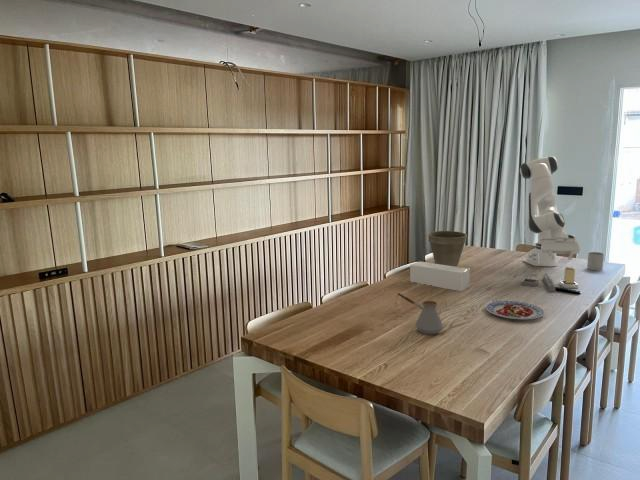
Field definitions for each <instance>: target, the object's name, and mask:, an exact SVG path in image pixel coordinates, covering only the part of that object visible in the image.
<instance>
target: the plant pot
mask: <svg viewBox="0 0 640 480" xmlns="http://www.w3.org/2000/svg"><path fill="white" fill-rule="evenodd" d="M467 236H468V235H467V233H465V232H461V231H456V230H436V231H432V232H429V233H428V242H429V243H430V247H431V252H432V257H433V260H434V261H433V262H434V264H440V265H447V266H454V267H459V263H460V260H461V257H462V253H463V250H464V247H465V244H466V243H467V238H468V237H467Z"/></svg>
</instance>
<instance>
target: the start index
mask: <svg viewBox="0 0 640 480" xmlns="http://www.w3.org/2000/svg"><path fill="white" fill-rule="evenodd" d="M559 285H560V286H561V287H562V288H563V287H564V288H563V289H579V284H578V283H577V282H576V281H575V280H574V284H564V280H559Z"/></svg>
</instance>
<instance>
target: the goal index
mask: <svg viewBox="0 0 640 480" xmlns="http://www.w3.org/2000/svg"><path fill="white" fill-rule="evenodd" d="M520 284H521V286H530V287H537V285H538V284H539V279H533V278H525V277H524V278H523V279H522V280H521V283H520Z"/></svg>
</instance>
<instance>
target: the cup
mask: <svg viewBox="0 0 640 480" xmlns="http://www.w3.org/2000/svg"><path fill="white" fill-rule="evenodd" d="M587 254H588V255H587V263H586V264H587V265H586V269H588V270H589V269H590V270H591V271H597V272H599V271H603V269H604V268H603V267H604V256H605V253H602V252H597V251H596V252H595V251H594V252H593V251H589V252H588V253H587Z"/></svg>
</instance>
